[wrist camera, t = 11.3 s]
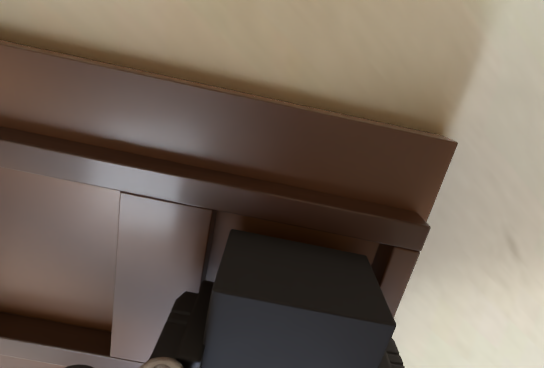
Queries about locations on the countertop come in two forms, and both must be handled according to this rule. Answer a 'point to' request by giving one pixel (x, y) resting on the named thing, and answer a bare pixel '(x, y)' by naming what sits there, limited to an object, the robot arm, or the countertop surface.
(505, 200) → the countertop surface
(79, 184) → the brown base tray
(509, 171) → the countertop surface
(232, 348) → the dark grey block
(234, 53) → the countertop surface
